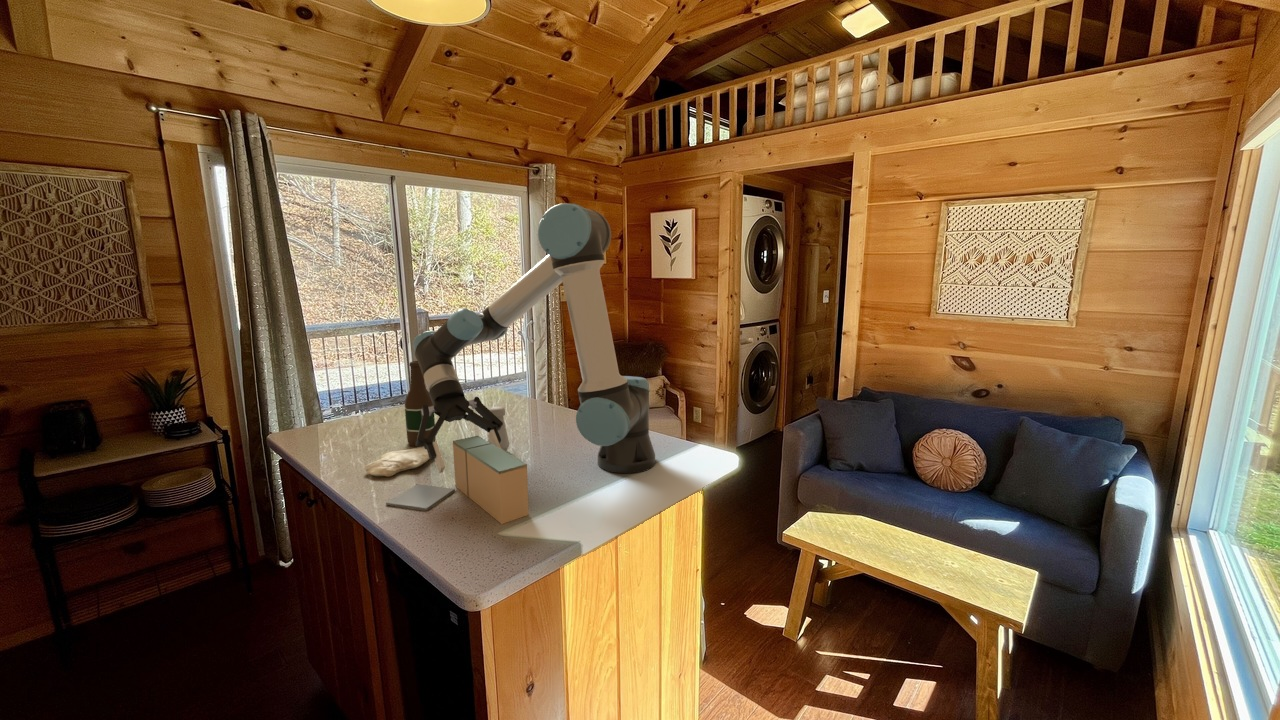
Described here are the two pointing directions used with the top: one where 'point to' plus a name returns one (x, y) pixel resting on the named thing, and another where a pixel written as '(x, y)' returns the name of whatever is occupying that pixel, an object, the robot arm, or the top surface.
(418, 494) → the coaster
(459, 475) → the stub
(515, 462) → the tan wooden box
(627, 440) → the robot arm
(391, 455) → the cream lumpy flat piece
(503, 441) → the salt shaker
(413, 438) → the beer bottle
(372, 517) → the top surface
